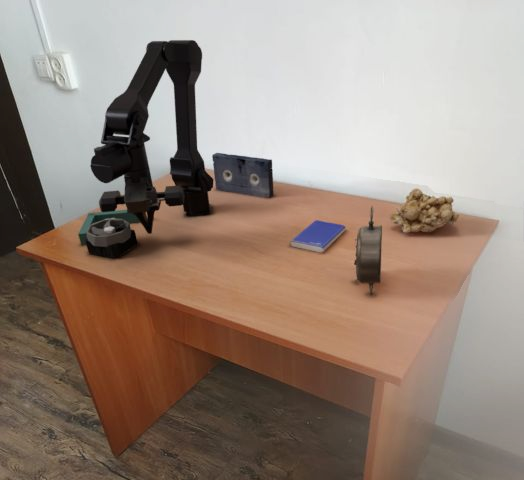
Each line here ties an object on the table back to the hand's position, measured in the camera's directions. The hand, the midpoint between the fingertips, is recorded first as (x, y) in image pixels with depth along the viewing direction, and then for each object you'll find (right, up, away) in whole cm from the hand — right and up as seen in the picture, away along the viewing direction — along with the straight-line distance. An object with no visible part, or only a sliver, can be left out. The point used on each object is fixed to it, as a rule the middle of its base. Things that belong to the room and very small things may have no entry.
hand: (150, 233), depth 119 cm
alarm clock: (+48, -15, -18) cm, 53 cm away
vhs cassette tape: (+22, +18, +25) cm, 37 cm away
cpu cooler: (-9, -4, +1) cm, 10 cm away
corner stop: (-12, +3, +9) cm, 15 cm away
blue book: (+40, -2, -1) cm, 40 cm away
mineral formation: (+65, +1, 0) cm, 65 cm away
